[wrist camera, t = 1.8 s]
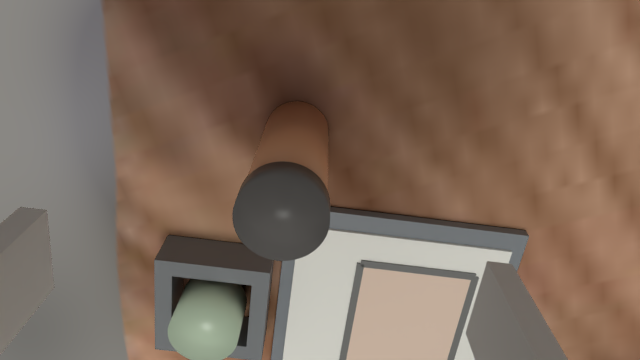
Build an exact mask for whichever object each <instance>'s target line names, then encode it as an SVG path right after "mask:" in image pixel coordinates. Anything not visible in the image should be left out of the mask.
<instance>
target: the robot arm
mask: <svg viewBox="0 0 640 360" xmlns="http://www.w3.org/2000/svg"><path fill="white" fill-rule="evenodd" d="M53 289H54V279H53V268H52V258H51V248H50V237H49V226H48V216H47V210H43V209H34V208H25V207H20V208H18V209H17V210H16V211H15V212H14V213H13V214H11V215H10V216H9V217H8V218H7V219H6V220H4V221H3V222H2V223H1V224H0V355H1V354H2V352H3V351H4V350H5V349H6V347H7V346H8V345H9V344H10V342H11V341H12V340H13V338H14V337H15V336H16V335H17V334H18V332H19V331H20V330H21V329H22V327H23V326H24V325H25V324H26V322H27V321H28V320H29V319H30V318H31V316H32V315H33V313H35V311H36V310H37V309H38V308H39V306H40V305H41V304H42V303H43V301H44V300H45V299H46V297H47V296H48V295H49V294H50V293H51V291H52V290H53ZM466 336H467V339H468V341H469V344H470V347H471V350H472V353H473V355H474V358H475V360H568V359H567V357H566V356H565V354H564V352H563V350H562V349H561V347H560V345H559V344H558V342H557V340H556V338H555V337H554V335H553V333H552V332H551V330H550V328H549V326H548V325H547V323H546V321H545V320H544V318H543V316H542V314H541V313H540V311H539V309H538V308H537V306H536V304H535V302H534V301H533V299H532V297H531V296H530V294H529V292H528V291H527V289H526V287H525V285H524V284H523V282H522V280H521V279H520V277H519V275H518V273H517V272H516V270H515V268H514V267H513V265H512V264H508V263H500V262H491V261H487V263H486V267H485V270H484V273H483V277H482V280H481V283H480V287H479V290H478V293H477V297H476V300H475V303H474V306H473V310H472V313H471V316H470V320H469V323H468V326H467V330H466Z"/></svg>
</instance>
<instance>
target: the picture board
mask: <svg viewBox="0 0 640 360" xmlns="http://www.w3.org/2000/svg"><path fill="white" fill-rule="evenodd" d="M528 238H529V235H528V234H527V232H526V231H525V230H518V229H510V228H501V227H493V226H485V225H477V224H469V223H460V222H452V221H444V220H436V219H428V218H419V217H411V216H403V215H395V214H387V213H378V212H370V211H362V210H354V209H345V208H337V207H330V226H329V231H328V233H327V236H326V238H325V239H324V241H323V242H322V244H321V245H320V246H319V247H318V248H317V249H316V250H315V251H313V252H312V253H310V254H309V255H307V256H305V257H302V258H299V259H296V260H290V261H282V268H281V276H280V285H279V294H278V303H277V311H276V320H275V329H274V338H273V347H272V355H271V360H475V358H474V355H473V353H472V350H471V347H470V344H469V341H468V339H467V336H466V330H467V326H468V323H469V320H470V316H471V313H472V310H473V306H474V303H475V300H476V297H477V293H478V290H479V287H480V283H481V280H482V277H483V273H484V270H485V267H486V263H487V261H491V262H500V263H508V264H512V265H513V267H514V268H515V270H516V272H517V270H518V267H519V264H520V261H521V258H522V255H523V252H524V250H525V247H526V244H527V241H528Z"/></svg>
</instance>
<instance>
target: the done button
mask: <svg viewBox="0 0 640 360" xmlns="http://www.w3.org/2000/svg"><path fill="white" fill-rule="evenodd" d="M246 304H247V297H246V293H245V291H244V289H243V288H242V286H241V285H240V284H234V283H226V282H217V281H208V280H200V279H190V280H189V281H188V283H187V284H186V286H185V288H184V290H183V292H182V295H181V297H180V299H179V302H178V304H177V306H176V309H175V311H174V314H173V316H172V318H171V321H170V323H169V326H168V338H169V341H170V343H171V345H172V346H173V347H174V349H175V350H176V351H177V352H178V353H180V354H181V355H183V356H184V357H186V358H188V359H190V360H222V359H224V358H226V357H228V356H229V355H230V354H231V353H232V352H233V351H234V350H235V348H236V346H237V343H238V339H239V335H240V330H241V326H242V322H243V318H244V313H245V309H246Z"/></svg>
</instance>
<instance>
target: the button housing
mask: <svg viewBox="0 0 640 360" xmlns="http://www.w3.org/2000/svg"><path fill="white" fill-rule="evenodd" d="M273 262H274V260H271V259H267V258H264V257H262V256H259V255H257V254H256V253H254V252H252V251H251V250H250V249H248V248H247V247H246V246H245V245H244V244H240V243H231V242H223V241H215V240H206V239H198V238H189V237H181V236H172V235H168V236H167V238H166V240H165V242H164V244H163V245H162V247H161V249H160V251H159V253H158V254H157V256H156V258H155V260H154V266H155V349H159V350H168V351H176V350H175V349H174V347H173V346H172V345H171V343H170V341H169V338H168V326H169V323H170V321H171V318H172V316H173V314H174V311H175V309H176V306H177V304H178V302H179V299H180V297H181V295H182V292H183V278H191V279H200V280H208V281H217V282H226V283H234V284H243V285H251V286H252V289H251V300H250V312H249V317H244V318H243V322H242V326H241V330H240V335H239V339H238V343H237V346H236V348H235V350H234V351H233V352H232V353H231V354H230V355H229V356H228V357H231V358H240V359H248V360H261V359H262V353H263V347H264V341H265V335H266V329H267V319H268V310H269V300H270V291H271V281H272V272H273Z"/></svg>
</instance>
